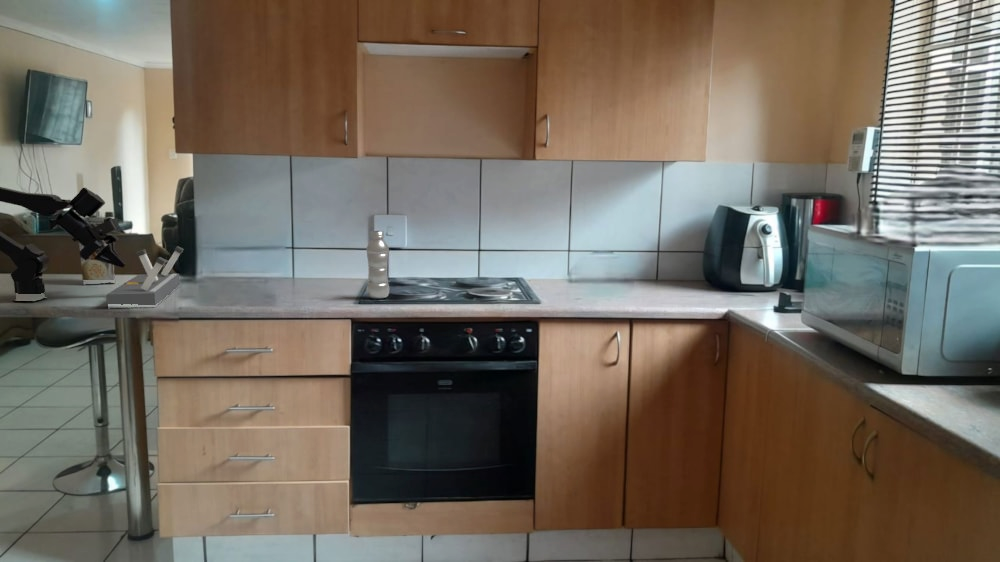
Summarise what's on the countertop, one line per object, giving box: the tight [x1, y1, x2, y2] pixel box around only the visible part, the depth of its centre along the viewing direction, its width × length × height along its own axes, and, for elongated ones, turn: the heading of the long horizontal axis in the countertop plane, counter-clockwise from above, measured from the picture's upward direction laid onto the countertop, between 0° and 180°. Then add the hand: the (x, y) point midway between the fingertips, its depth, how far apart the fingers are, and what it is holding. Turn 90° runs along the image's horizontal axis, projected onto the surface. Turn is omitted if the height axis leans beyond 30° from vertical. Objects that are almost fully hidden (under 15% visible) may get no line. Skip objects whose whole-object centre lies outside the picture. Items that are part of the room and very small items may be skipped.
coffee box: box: [78, 232, 116, 281], centre depth 233 cm, size 9×6×16 cm
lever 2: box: [160, 245, 185, 276], centre depth 225 cm, size 2×3×10 cm
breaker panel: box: [105, 273, 181, 305], centre depth 212 cm, size 12×35×4 cm, turn 14°
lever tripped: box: [135, 248, 158, 282], centre depth 211 cm, size 2×3×10 cm
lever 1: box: [141, 256, 168, 291], centre depth 200 cm, size 2×3×10 cm
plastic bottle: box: [365, 230, 390, 300], centre depth 212 cm, size 6×7×20 cm
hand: (124, 266), depth 210 cm, fingers closed
